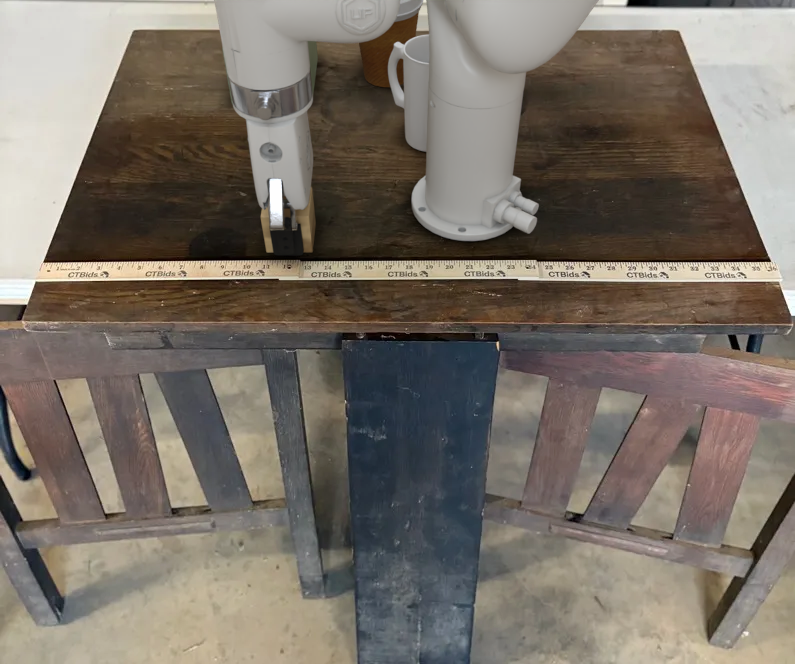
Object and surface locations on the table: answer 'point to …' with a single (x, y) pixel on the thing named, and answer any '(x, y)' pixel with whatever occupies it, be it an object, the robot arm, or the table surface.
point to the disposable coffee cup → (390, 45)
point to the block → (303, 218)
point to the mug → (412, 87)
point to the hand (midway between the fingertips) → (291, 234)
